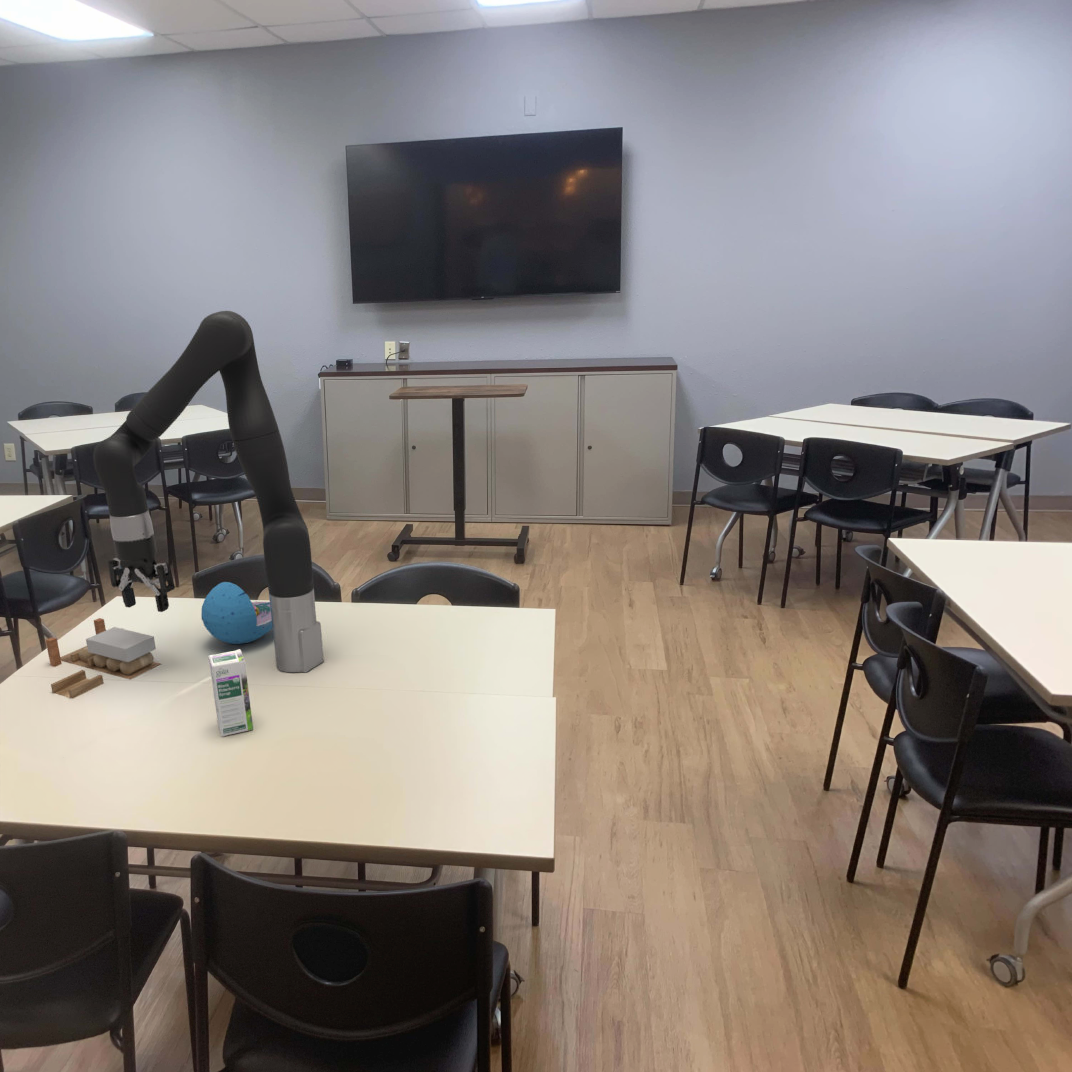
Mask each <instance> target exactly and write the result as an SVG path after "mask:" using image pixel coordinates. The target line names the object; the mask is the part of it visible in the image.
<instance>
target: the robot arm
mask: <svg viewBox="0 0 1072 1072" xmlns="http://www.w3.org/2000/svg"><path fill="white" fill-rule="evenodd" d="M255 345H256V344H255V340H254V333H253V331H252V327H251V326H250V324H249V322H248V321H247V320H246V319H245V317H243V316H242V315H241V314H239V313H237V312H235V311H231V310H220V311H216V312H213V313H210V314H209V315H206V317H204V318H203V320H202V321H201V322H200V324H199V326H198V328H197V329H196V332H195V333H194V335H193V336H192V338H191V339H190V341H189V343H188V345H186V347H185V349H184V351H183V352H182V353H181V355H180V356H179V357H178V358H177V360H176V361H175V363H174V364H172V366H171V368H170V369H168V371H167V372H166V373H164V375H162V377H161V378H160V379H159V380H158V381H157V382H156V383H155V384H154V385H153V386H152V387H151V388H150V389H149V390H148V391H147V392H146V393H145V394H144V395H143V396H142V398H141V399H140V400H139V401H137V403H136V405H135V406H133V408H131V410H130V411H129V412H128V413H127V416H126V419H125V421H124V422H123V423H122V424H121V425H120V426H119V427H118V428H117V430H116V431H115V432H114V433H113V434H111V435H110V436H108V437H106V438H105V439H103V440H101V441H99V442H98V443H97V445H96V446H95V448H94V451H93V454H92V455H93V465H94V469H95V472H96V475H97V478H98V480H99V483H100V485H101V487H102V489H103V490H104V493H105V495H106V496H105V497H106V503H107V507H108V513H109V520H110V521H109V522H110V523H109V527H110V530H111V531H110V532H111V537H112V540H113V542H112V543H113V546H114V547H113V548H114V553H115V557H114V558H112V559H110V560H108V561H107V563H108V571H109V578H110V585H111V587H113V588H118V590H119V591H121V596H122V602H123V604H124V607H125V608H132V607H134V606H135V605H136V603H137V600H136V596H135V591H134V587H133V585H134V583H141V584H144V585H146V587H147V588H150V589H151V591H152V592H153V593H154V594H155V595H154V598H155V604H156V609H157V612H159V613H163V612H165V611H167V610H168V609H169V607H170V603H169V599H168V598H169V597H168V593H169V592H171V591H174V590H175V589H176V587H175V581H174V577H173V573H172V570H171V564H170V563H169V562H168V561H165V562H163V563H158V562H157V560H156V555H157V553H158V549H157V543H156V537H155V536H156V535H155V533H154V532H155V531H154V527H153V521H152V518H151V514H150V510H149V506H148V501H147V496H146V491H145V488H144V485H143V484H141V483H140V482H138V480H137V475H136V472H135V468H134V467H135V466H136V465H137V464H138V463H140V462H141V460H142V459H143V458H144V457H145V456H146V454H148V452H149V450H150V449H151V448H152V446H153V445H154V444H155V443H156V440H158V439H159V438H160V437H161V436H162V435H163V434H165V432H166V431H168V429H169V428H170V427H171V426H172V425H173V423H175V421H176V420H177V419H178V418H179V417H180V416H181V415H182V413H183V412H184V411H185V410H186V408H187V407H188V406H189V403H190V402H191V401H192V400H193V399H194V397H195V396H196V394H197V393H198V392H199V391H200V389H201V388H203V386H204V385H205V384H206V383H207V382H208V381H209V380H210V379H211V378H212V377H214V376H215V374H217V373H219V375H220V376H221V380H222V383H223V387H224V392H225V400H226V401H225V402H226V411H227V412H226V413H227V414H226V415H227V422H228V428H229V434H230V437H231V440H232V443H233V444H232V445H233V447H234V450H235V454H236V457H237V459H238V461H239V464H240V466H241V469H242V471H243V473H244V475H245V478H246V479H247V482H248V483H249V485H250V487H251V489H252V490H253V493H254V495H255V497H256V501H257V504H258V509H259V512H260V513H259V515H260V518H261V519H260V520H261V522H262V523H261V524H262V530H263V531H262V532H263V535H262V536H263V539H262V544H263V545H262V547H263V548H262V549H263V557H264V566H265V575H266V581H267V582H266V583H267V586H268V587H267V588H268V596H269V597H268V598H269V602H270V609H271V619H272V628H271V629H272V636H273V646H274V654H275V655H274V656H275V664H276V668H277V669H278V670H280V671H281V672H287V673H298V672H299V673H300V672H301V673H302V672H303V673H308V672H309V671H310V670H312V669H314V668H315V667H317V666H318V665H320V664H322V663H323V662H324V661H325V660H324V651H323V649H324V648H323V638H322V637H323V636H322V625H321V622H320V621H317V611H316V599H315V598H316V597H315V589H314V574H313V573H314V572H313V563H312V551H311V550H312V549H311V541H310V534H309V529H308V527H307V526H308V525H307V524H306V522H305V520H304V518H303V516H302V513H301V511H300V508H299V506H298V504H297V503H298V502H297V501H296V499H295V496H294V492H293V489H292V486H291V480H290V472H289V467H288V461H287V456H286V450H285V446H284V443H283V439H282V435H281V433H280V428H279V426H278V424H277V423H278V422H277V420H276V417H275V414H274V411H273V407H272V404H271V401H270V400H269V395H268V393H267V391H266V389H265V385H264V383H263V380H262V376H261V373H260V368H259V362H258V359H257V351H256V346H255Z"/></svg>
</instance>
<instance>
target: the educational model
mask: <svg viewBox="0 0 1072 1072" xmlns="http://www.w3.org/2000/svg"><path fill="white" fill-rule="evenodd" d="M201 620H202V623H203V626H204V627H205V629H206V630H207V631H208V633H210V635H211V636H212V637H214V638H215V639H216V640H219V641H221V642H224V643H227V644H231V645H233V644H234V645H237V644H238V645H240V644H241V645H242V644H246V643H247V644H248V643H252V642H254V641H256V640H258V639H260V638H261V637H263V636H264V635H266V634H267V633H268V632H270V630H272V629H273V628H272V619H271V609H270V601H256V600H255V601H253V602H252V600H251V598H250V597H249V595H248V594H247V593H245V591H244V590H243V589H242V588H241V587H240V586H238V585H237V584H235V583H232V582H229V581H223V582H222V581H221V582H220V583H218V584H217V585H216V586H214V587H213V588H212V589H211V590H210V591H209V592H208V594H207V595H206V597H205V599H204V601H203V603H202V606H201Z"/></svg>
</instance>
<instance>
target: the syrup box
mask: <svg viewBox="0 0 1072 1072" xmlns="http://www.w3.org/2000/svg"><path fill="white" fill-rule="evenodd" d="M208 663H209V664H208V665H209V669H210V671H209V672H210V677H211V683H212V685H211V686H212V691H213V699H214V704H215V705H214V706H215V713H216V719H217V720H216V721H217V725H218V728H219V729H218V730H219V733H220V736H221V737H222V738H224V737H226V736H230V735H235V734H240V733H243V732H247V731H249V732H250V731H252V730H254V723H253V716H252V709H251V701H250V692H249V683H248V677H247V676H248V675H247V667H246V661H245V658H244V655H243V653H242V650H241V649H240V648H239V649H236V650H233V651H227V652H221V653H217V654H209V655H208Z"/></svg>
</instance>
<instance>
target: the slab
mask: <svg viewBox="0 0 1072 1072" xmlns="http://www.w3.org/2000/svg"><path fill="white" fill-rule="evenodd" d="M85 642H86V643H85V644H86V646H87V648H88V652H90V653H94V654H98V655H102V656H106V657H109V658H113V659H117V660H121V661H125V662H130V661H132V660H134V659H136V658H138V657H140V656H142V655H144V654H147V653H149V652H150V653H151V652H153V651H155V650H156V643H155V637H154V636H153V635H149V634H145V633H142V632H141V633H140V632H136V631H133V630H128V629H125V628H120V627H117V626H114V627H112V628H109V629H106V631H104V632H101V633H99V634H97V635H96V634H95V635H92V636H89V637H88V638H85Z"/></svg>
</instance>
